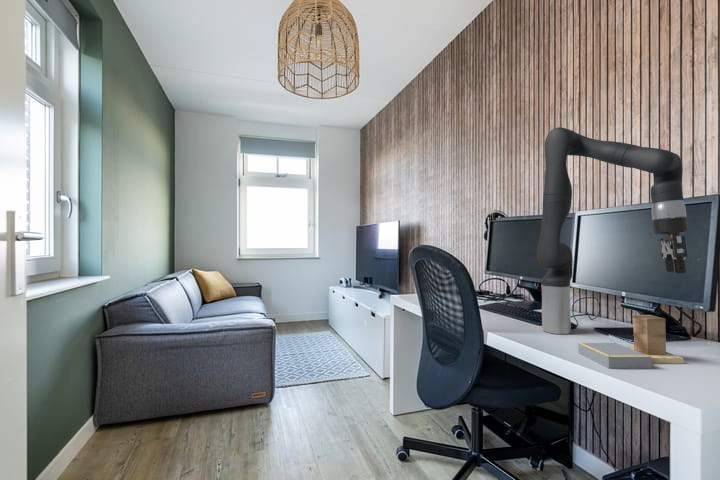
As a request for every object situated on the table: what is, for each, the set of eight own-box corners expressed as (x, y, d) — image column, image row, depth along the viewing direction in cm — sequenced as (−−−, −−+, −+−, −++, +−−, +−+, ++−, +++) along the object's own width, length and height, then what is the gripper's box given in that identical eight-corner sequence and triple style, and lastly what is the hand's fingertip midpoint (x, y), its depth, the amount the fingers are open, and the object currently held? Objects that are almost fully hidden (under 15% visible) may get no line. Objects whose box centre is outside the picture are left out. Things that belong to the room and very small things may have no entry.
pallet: (619, 352, 103) (619, 347, 103) (652, 352, 102) (652, 346, 102) (646, 363, 93) (646, 357, 93) (683, 363, 92) (683, 357, 92)
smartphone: (641, 347, 106) (607, 334, 121) (641, 350, 106) (607, 336, 121) (665, 347, 106) (628, 334, 121) (665, 350, 106) (628, 336, 121)
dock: (578, 352, 102) (578, 342, 102) (615, 352, 102) (615, 342, 102) (608, 368, 89) (608, 356, 89) (651, 368, 89) (651, 356, 89)
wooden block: (633, 349, 100) (632, 315, 100) (651, 349, 100) (650, 314, 100) (647, 355, 95) (646, 318, 95) (666, 355, 95) (665, 318, 95)
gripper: (646, 220, 108) (652, 272, 107) (658, 216, 96) (665, 274, 95) (678, 218, 105) (684, 271, 103) (694, 213, 92) (702, 273, 91)
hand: (675, 272), depth 99 cm, fingers open, 8 cm apart
